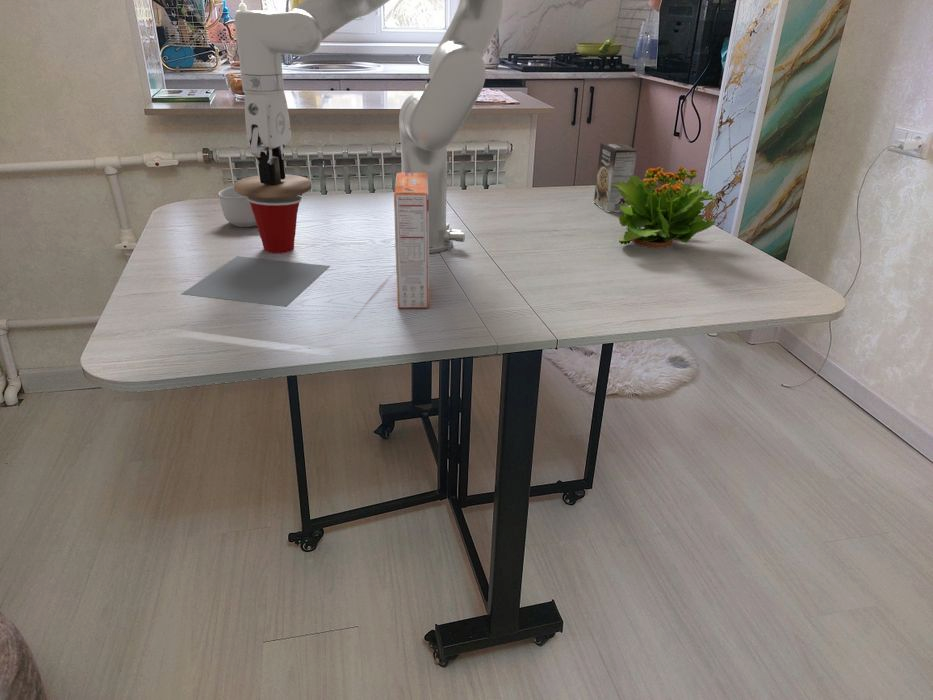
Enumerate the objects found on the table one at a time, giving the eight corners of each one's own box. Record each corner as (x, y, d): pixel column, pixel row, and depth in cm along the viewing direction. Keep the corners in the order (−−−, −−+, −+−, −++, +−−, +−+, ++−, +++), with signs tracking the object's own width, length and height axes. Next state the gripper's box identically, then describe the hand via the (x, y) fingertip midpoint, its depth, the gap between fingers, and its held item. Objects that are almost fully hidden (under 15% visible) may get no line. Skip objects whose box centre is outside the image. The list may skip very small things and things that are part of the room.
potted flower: (583, 226, 164) (592, 153, 156) (670, 222, 170) (683, 151, 162) (630, 262, 143) (642, 180, 135) (727, 256, 149) (745, 176, 140)
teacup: (263, 231, 154) (259, 196, 150) (216, 229, 154) (210, 195, 150) (279, 213, 166) (276, 181, 162) (235, 212, 166) (231, 179, 162)
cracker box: (397, 279, 131) (395, 171, 121) (428, 279, 131) (429, 171, 121) (395, 309, 118) (392, 191, 109) (429, 309, 119) (430, 192, 109)
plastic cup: (316, 248, 145) (312, 193, 139) (284, 264, 136) (278, 205, 130) (276, 240, 149) (270, 185, 143) (242, 254, 140) (234, 197, 134)
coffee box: (592, 203, 183) (599, 142, 175) (614, 202, 184) (622, 141, 177) (606, 212, 175) (614, 149, 168) (628, 212, 177) (638, 149, 169)
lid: (322, 181, 141) (320, 152, 139) (292, 200, 128) (289, 169, 126) (256, 176, 144) (252, 148, 141) (220, 194, 131) (215, 163, 128)
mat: (330, 269, 134) (330, 266, 134) (286, 310, 117) (286, 306, 116) (237, 259, 137) (237, 256, 137) (182, 297, 120) (181, 293, 120)
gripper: (260, 90, 119) (272, 193, 128) (299, 80, 133) (307, 173, 142) (221, 87, 120) (235, 189, 129) (264, 78, 134) (274, 170, 143)
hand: (273, 180), depth 135 cm, fingers closed on lid, 3 cm apart
